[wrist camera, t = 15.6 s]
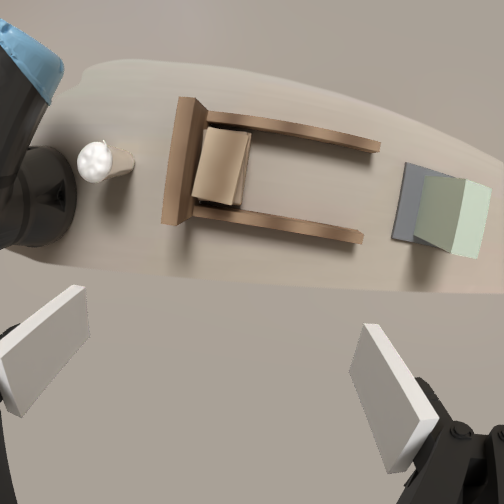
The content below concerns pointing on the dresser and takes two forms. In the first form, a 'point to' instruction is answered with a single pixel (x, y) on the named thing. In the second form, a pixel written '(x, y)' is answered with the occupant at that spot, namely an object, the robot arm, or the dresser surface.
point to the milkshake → (103, 162)
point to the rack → (185, 206)
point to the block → (453, 214)
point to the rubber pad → (411, 202)
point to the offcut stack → (222, 166)
